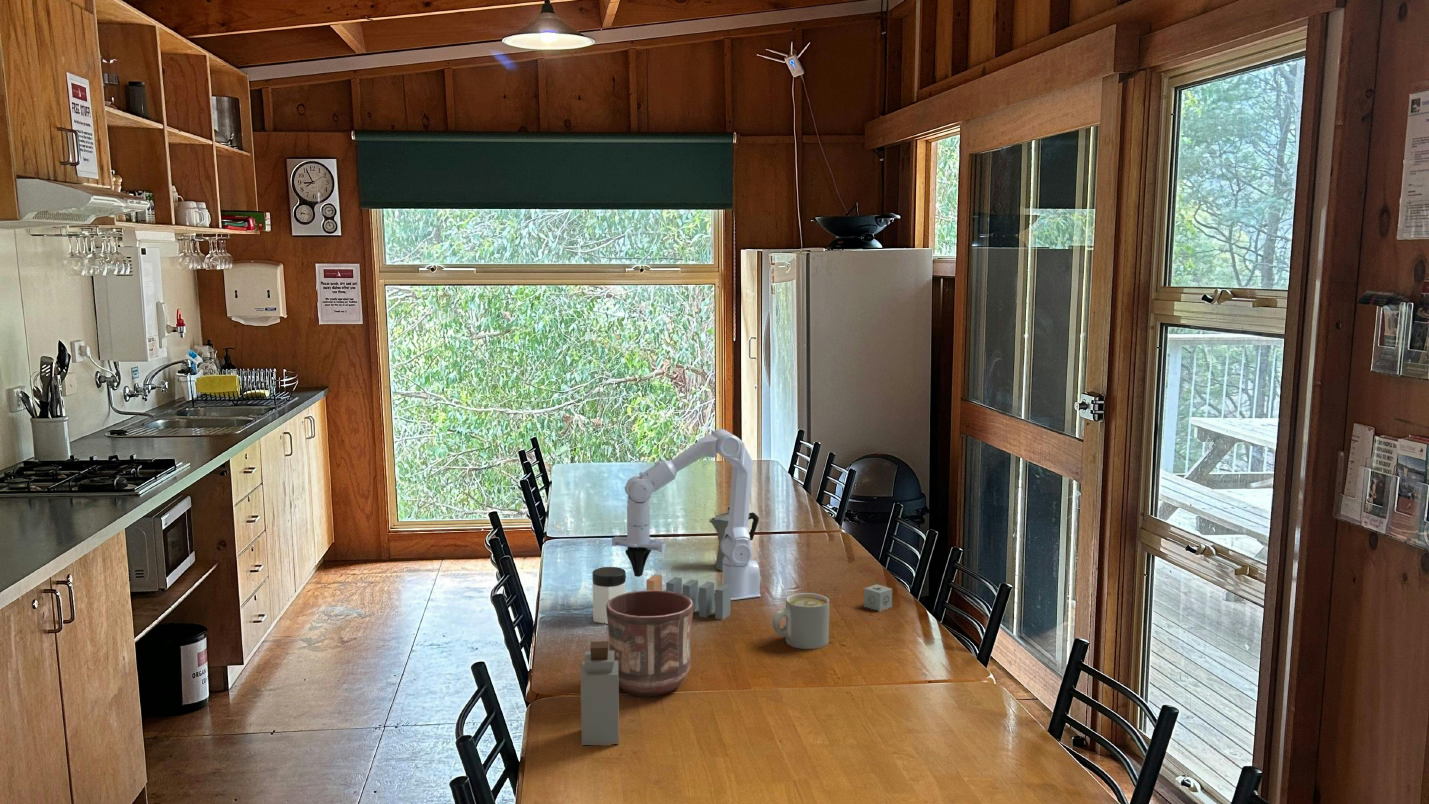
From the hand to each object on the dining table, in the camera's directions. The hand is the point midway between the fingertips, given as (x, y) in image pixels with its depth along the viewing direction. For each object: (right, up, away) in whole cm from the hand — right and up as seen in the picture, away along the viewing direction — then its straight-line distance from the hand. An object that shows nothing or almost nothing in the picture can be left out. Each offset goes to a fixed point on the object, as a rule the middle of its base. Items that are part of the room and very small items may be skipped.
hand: (638, 575), depth 266 cm
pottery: (+6, -15, -50) cm, 52 cm away
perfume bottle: (-2, -18, -73) cm, 75 cm away
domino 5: (+22, -9, -8) cm, 25 cm away
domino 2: (+9, -8, -3) cm, 13 cm away
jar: (-6, -9, -10) cm, 15 cm away
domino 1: (+4, -8, -1) cm, 9 cm away
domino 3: (+13, -8, -5) cm, 16 cm away
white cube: (+61, -8, -1) cm, 62 cm away
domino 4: (+18, -9, -6) cm, 21 cm away
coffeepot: (+25, -3, +32) cm, 41 cm away
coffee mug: (+39, -11, -25) cm, 48 cm away
